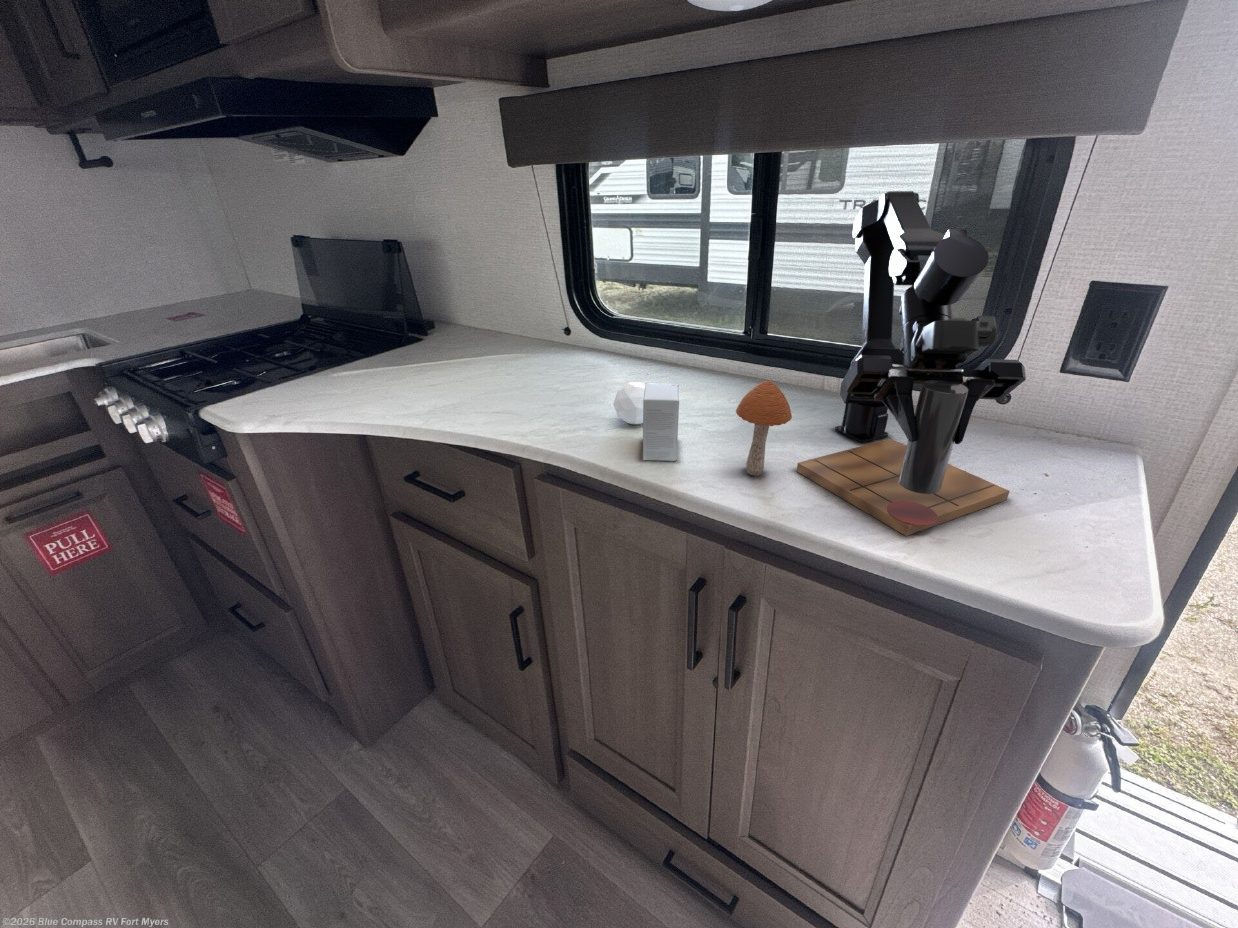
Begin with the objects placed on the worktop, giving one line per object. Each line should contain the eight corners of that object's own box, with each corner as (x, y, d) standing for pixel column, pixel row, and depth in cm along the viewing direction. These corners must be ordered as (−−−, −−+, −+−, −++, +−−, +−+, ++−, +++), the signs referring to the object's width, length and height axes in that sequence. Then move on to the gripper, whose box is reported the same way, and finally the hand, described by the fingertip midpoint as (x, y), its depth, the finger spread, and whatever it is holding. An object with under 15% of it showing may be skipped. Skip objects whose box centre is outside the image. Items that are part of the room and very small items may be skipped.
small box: (644, 440, 98) (645, 382, 93) (676, 441, 97) (679, 382, 93) (641, 460, 91) (642, 399, 86) (676, 461, 90) (679, 399, 86)
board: (796, 471, 87) (797, 461, 86) (888, 446, 95) (890, 437, 94) (912, 540, 70) (915, 529, 69) (1014, 503, 78) (1017, 493, 77)
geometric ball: (629, 431, 108) (627, 391, 110) (665, 424, 104) (663, 383, 105) (605, 424, 102) (604, 381, 103) (643, 416, 98) (641, 372, 99)
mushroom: (785, 488, 82) (799, 390, 75) (730, 484, 83) (739, 387, 77) (781, 464, 89) (793, 372, 82) (730, 460, 90) (738, 370, 84)
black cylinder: (891, 475, 73) (914, 380, 67) (928, 475, 73) (954, 379, 67) (908, 494, 69) (934, 394, 63) (948, 494, 69) (977, 393, 63)
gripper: (869, 287, 65) (873, 411, 61) (1045, 290, 63) (1064, 419, 58) (844, 337, 76) (846, 446, 71) (994, 341, 73) (1007, 455, 69)
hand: (935, 441), depth 67 cm, fingers closed on black cylinder, 5 cm apart
